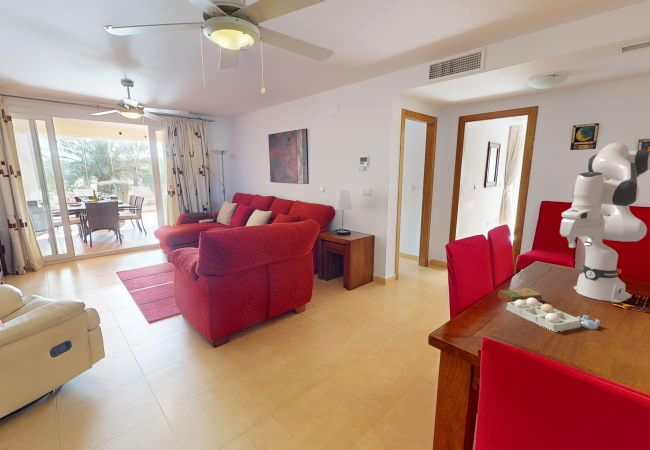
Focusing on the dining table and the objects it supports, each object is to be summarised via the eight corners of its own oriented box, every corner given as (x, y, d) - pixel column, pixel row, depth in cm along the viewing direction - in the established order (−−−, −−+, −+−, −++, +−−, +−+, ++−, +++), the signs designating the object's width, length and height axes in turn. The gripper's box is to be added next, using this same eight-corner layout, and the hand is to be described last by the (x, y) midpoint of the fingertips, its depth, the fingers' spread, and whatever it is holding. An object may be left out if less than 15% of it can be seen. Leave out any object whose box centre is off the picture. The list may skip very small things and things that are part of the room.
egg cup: (583, 320, 116) (584, 314, 116) (601, 327, 111) (602, 321, 110) (573, 322, 115) (574, 316, 114) (590, 330, 109) (591, 323, 109)
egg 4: (550, 321, 115) (551, 310, 114) (562, 326, 110) (563, 315, 110) (541, 322, 113) (542, 311, 113) (553, 328, 109) (555, 317, 108)
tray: (529, 305, 131) (530, 298, 130) (580, 327, 111) (581, 319, 111) (506, 309, 127) (506, 302, 126) (554, 332, 107) (555, 325, 107)
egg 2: (530, 305, 129) (531, 295, 128) (540, 309, 125) (542, 299, 124) (522, 306, 128) (523, 296, 127) (532, 310, 123) (534, 300, 123)
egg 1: (519, 307, 127) (520, 297, 126) (529, 311, 123) (530, 301, 122) (511, 308, 126) (512, 298, 125) (521, 313, 121) (522, 302, 121)
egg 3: (545, 310, 123) (545, 300, 122) (557, 315, 118) (556, 305, 117) (537, 313, 121) (537, 304, 120) (548, 318, 117) (548, 308, 116)
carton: (541, 302, 134) (542, 294, 133) (511, 305, 131) (512, 296, 131) (526, 295, 142) (527, 287, 141) (497, 298, 139) (498, 289, 139)
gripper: (593, 211, 122) (589, 243, 124) (558, 213, 116) (554, 246, 118) (612, 212, 116) (606, 246, 118) (576, 215, 110) (571, 250, 112)
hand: (580, 246), depth 118 cm, fingers open, 8 cm apart
